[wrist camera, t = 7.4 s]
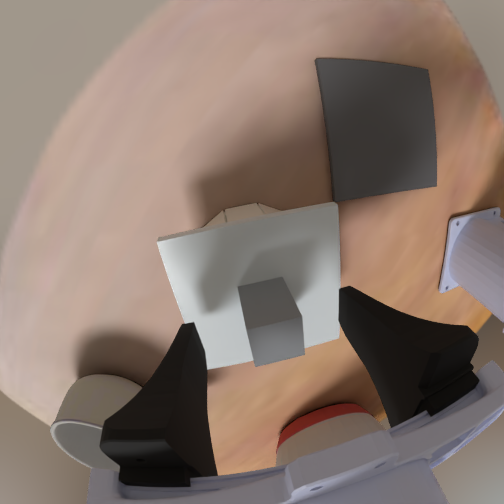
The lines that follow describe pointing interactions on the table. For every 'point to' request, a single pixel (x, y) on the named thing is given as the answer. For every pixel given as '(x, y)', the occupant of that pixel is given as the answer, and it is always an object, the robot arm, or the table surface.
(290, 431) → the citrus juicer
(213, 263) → the lid
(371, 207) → the table surface
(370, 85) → the mat
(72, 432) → the teacup
